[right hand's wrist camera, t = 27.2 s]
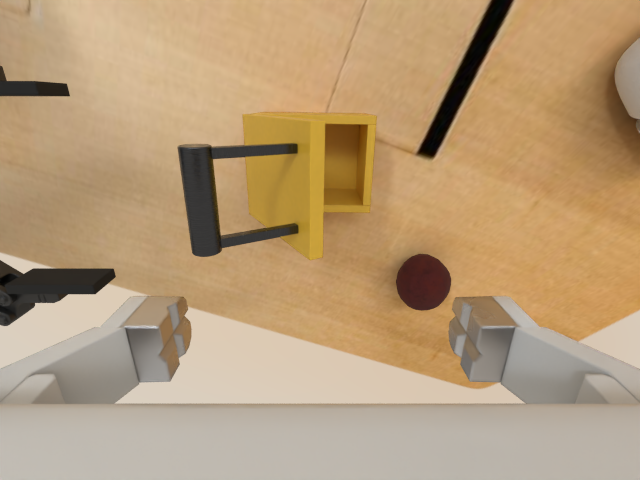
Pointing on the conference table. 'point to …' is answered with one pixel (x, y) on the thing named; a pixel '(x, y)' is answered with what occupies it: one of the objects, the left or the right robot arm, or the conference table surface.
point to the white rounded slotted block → (630, 80)
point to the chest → (345, 158)
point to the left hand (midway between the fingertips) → (82, 195)
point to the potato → (423, 282)
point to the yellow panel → (262, 185)
